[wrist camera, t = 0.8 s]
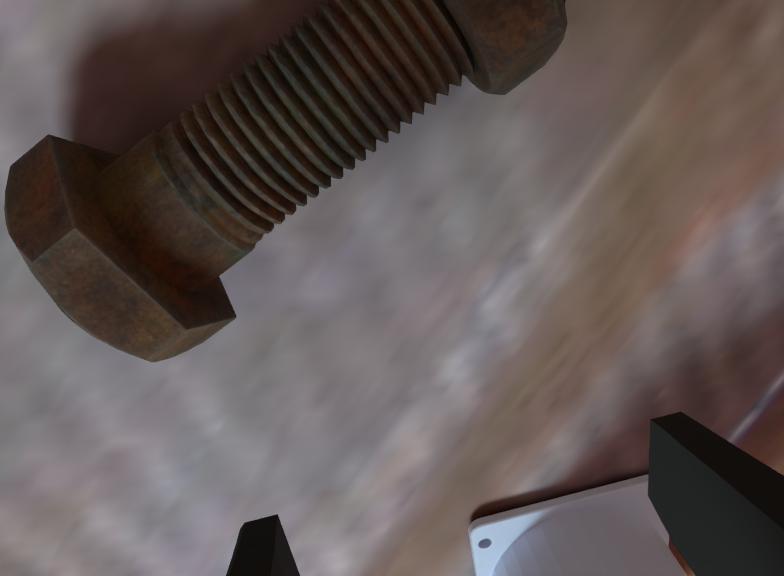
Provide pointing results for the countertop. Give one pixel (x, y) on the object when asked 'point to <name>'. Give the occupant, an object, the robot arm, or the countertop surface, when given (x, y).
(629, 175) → the countertop surface
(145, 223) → the bolt
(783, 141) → the countertop surface
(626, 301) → the countertop surface
